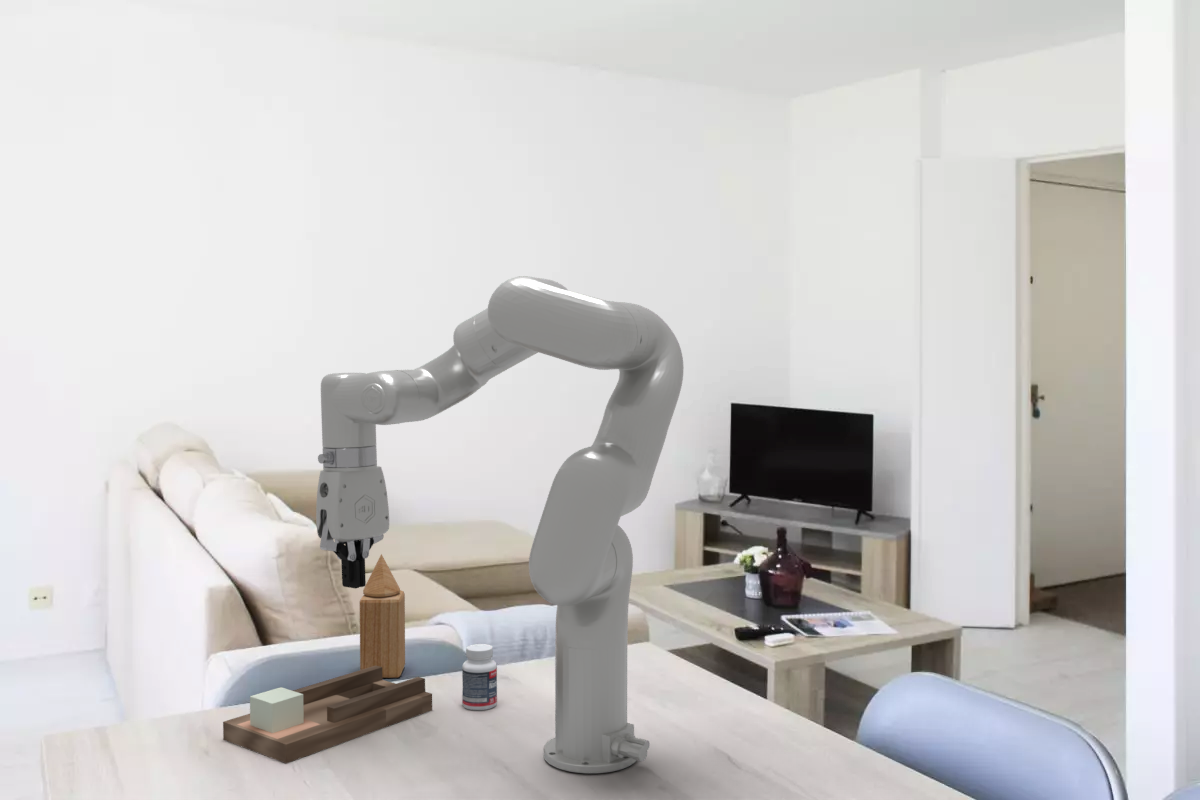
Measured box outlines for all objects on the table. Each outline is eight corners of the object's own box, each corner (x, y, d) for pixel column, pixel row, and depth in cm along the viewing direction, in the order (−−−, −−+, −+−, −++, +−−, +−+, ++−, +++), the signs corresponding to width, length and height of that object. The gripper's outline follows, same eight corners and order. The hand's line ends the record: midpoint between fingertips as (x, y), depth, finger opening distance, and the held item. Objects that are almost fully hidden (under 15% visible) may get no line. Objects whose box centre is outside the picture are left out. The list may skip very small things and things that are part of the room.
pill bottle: (494, 711, 160) (494, 652, 159) (459, 711, 160) (459, 652, 159) (498, 699, 165) (498, 642, 165) (465, 699, 165) (464, 642, 165)
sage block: (303, 722, 147) (303, 694, 147) (272, 733, 143) (272, 703, 143) (281, 715, 150) (280, 687, 150) (250, 725, 146) (249, 696, 146)
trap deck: (432, 710, 160) (432, 680, 160) (286, 763, 139) (285, 729, 139) (369, 691, 169) (369, 663, 168) (223, 739, 148) (222, 707, 148)
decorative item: (366, 667, 182) (365, 550, 181) (405, 666, 182) (404, 549, 181) (359, 679, 175) (358, 557, 174) (400, 678, 175) (399, 557, 175)
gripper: (325, 465, 145) (329, 599, 146) (406, 455, 157) (410, 580, 158) (290, 462, 150) (294, 593, 150) (372, 453, 162) (375, 574, 162)
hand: (354, 586), depth 154 cm, fingers closed
